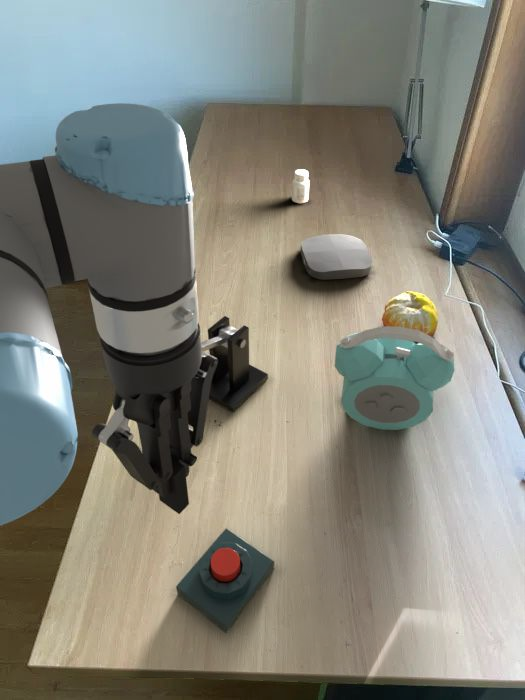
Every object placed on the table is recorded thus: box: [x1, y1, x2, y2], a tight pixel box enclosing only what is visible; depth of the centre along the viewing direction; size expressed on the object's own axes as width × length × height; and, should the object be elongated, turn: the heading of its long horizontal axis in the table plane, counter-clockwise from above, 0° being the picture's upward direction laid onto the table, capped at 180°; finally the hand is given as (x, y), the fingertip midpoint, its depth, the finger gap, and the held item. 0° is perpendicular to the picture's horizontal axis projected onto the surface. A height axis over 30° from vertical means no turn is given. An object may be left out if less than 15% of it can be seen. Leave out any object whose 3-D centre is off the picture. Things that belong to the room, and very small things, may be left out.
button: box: [211, 548, 240, 582], centre depth 70 cm, size 4×4×2 cm
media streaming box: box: [300, 233, 373, 280], centre depth 127 cm, size 15×15×3 cm
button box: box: [175, 527, 275, 634], centre depth 71 cm, size 10×8×4 cm
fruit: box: [381, 291, 439, 344], centre depth 109 cm, size 11×10×8 cm
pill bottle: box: [291, 168, 310, 204], centre depth 147 cm, size 4×4×8 cm
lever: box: [201, 325, 239, 352], centre depth 87 cm, size 13×6×2 cm, turn 144°
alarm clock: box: [334, 325, 455, 431], centre depth 87 cm, size 17×10×20 cm, turn 80°
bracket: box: [207, 315, 269, 413], centre depth 94 cm, size 10×9×13 cm
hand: (174, 502), depth 58 cm, fingers closed
